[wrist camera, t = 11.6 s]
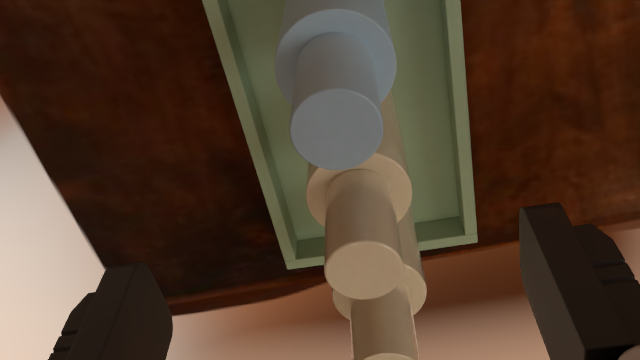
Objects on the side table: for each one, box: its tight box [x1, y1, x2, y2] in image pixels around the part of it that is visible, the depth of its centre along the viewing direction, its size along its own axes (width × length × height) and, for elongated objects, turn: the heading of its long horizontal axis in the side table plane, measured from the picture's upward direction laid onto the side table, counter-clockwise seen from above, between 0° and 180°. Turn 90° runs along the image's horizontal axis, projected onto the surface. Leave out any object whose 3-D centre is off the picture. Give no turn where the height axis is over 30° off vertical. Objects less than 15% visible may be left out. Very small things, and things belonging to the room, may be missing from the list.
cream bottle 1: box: [306, 88, 412, 300], centre depth 26 cm, size 4×4×13 cm
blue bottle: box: [274, 0, 397, 170], centre depth 23 cm, size 4×4×13 cm
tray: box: [202, 0, 478, 269], centre depth 31 cm, size 19×11×2 cm, turn 12°
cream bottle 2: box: [332, 204, 427, 360], centre depth 29 cm, size 4×4×13 cm
